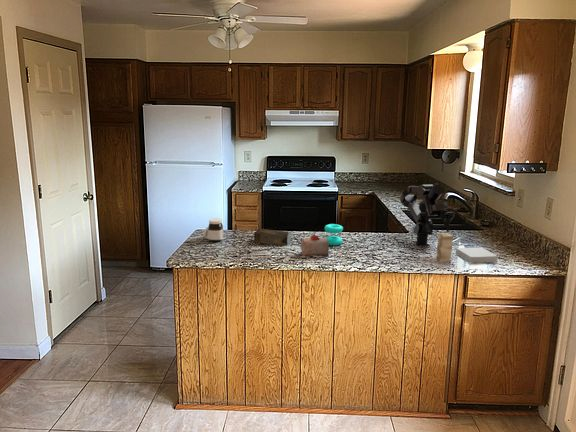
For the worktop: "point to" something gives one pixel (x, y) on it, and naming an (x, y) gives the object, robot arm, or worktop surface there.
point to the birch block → (444, 247)
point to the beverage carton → (272, 237)
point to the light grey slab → (476, 255)
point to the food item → (315, 246)
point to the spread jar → (214, 230)
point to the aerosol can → (422, 207)
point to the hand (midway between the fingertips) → (439, 231)
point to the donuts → (334, 229)
